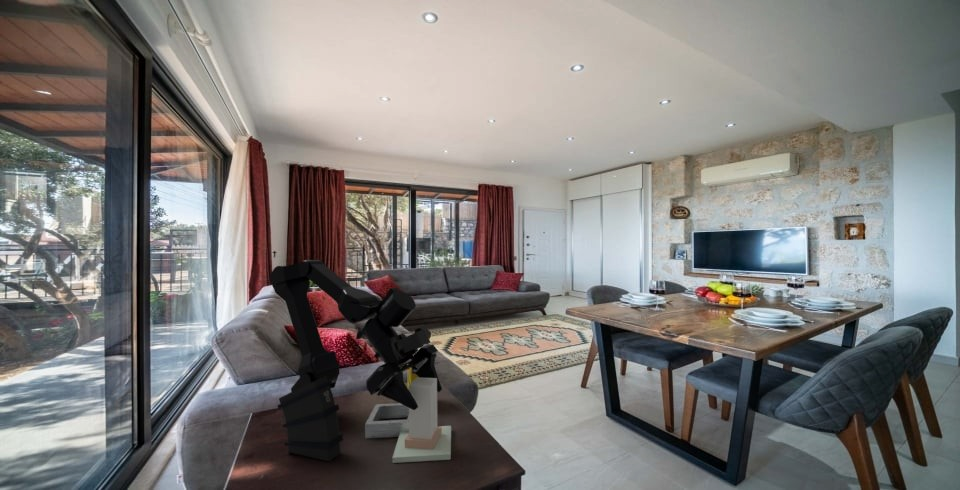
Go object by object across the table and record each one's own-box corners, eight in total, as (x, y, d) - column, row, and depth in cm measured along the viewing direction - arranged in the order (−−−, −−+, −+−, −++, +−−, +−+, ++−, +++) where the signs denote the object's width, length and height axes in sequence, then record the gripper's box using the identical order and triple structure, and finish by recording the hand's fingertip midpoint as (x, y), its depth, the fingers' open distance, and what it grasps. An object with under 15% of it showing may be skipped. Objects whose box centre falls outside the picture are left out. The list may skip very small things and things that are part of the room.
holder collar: (365, 438, 73) (365, 424, 73) (375, 416, 83) (375, 404, 83) (412, 435, 74) (411, 421, 74) (417, 414, 84) (416, 402, 84)
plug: (404, 447, 68) (404, 386, 68) (414, 431, 74) (414, 376, 74) (433, 449, 67) (432, 387, 67) (441, 433, 73) (440, 377, 73)
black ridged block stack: (341, 457, 64) (314, 381, 66) (293, 476, 67) (269, 402, 70) (355, 446, 67) (329, 374, 70) (308, 464, 71) (285, 395, 73)
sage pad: (392, 463, 64) (392, 457, 64) (401, 432, 75) (401, 428, 75) (450, 459, 65) (450, 454, 65) (451, 430, 76) (451, 425, 76)
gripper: (377, 324, 64) (427, 392, 59) (430, 309, 81) (472, 361, 76) (346, 362, 67) (391, 429, 62) (403, 340, 84) (442, 391, 79)
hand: (429, 399), depth 70 cm, fingers open, 9 cm apart
